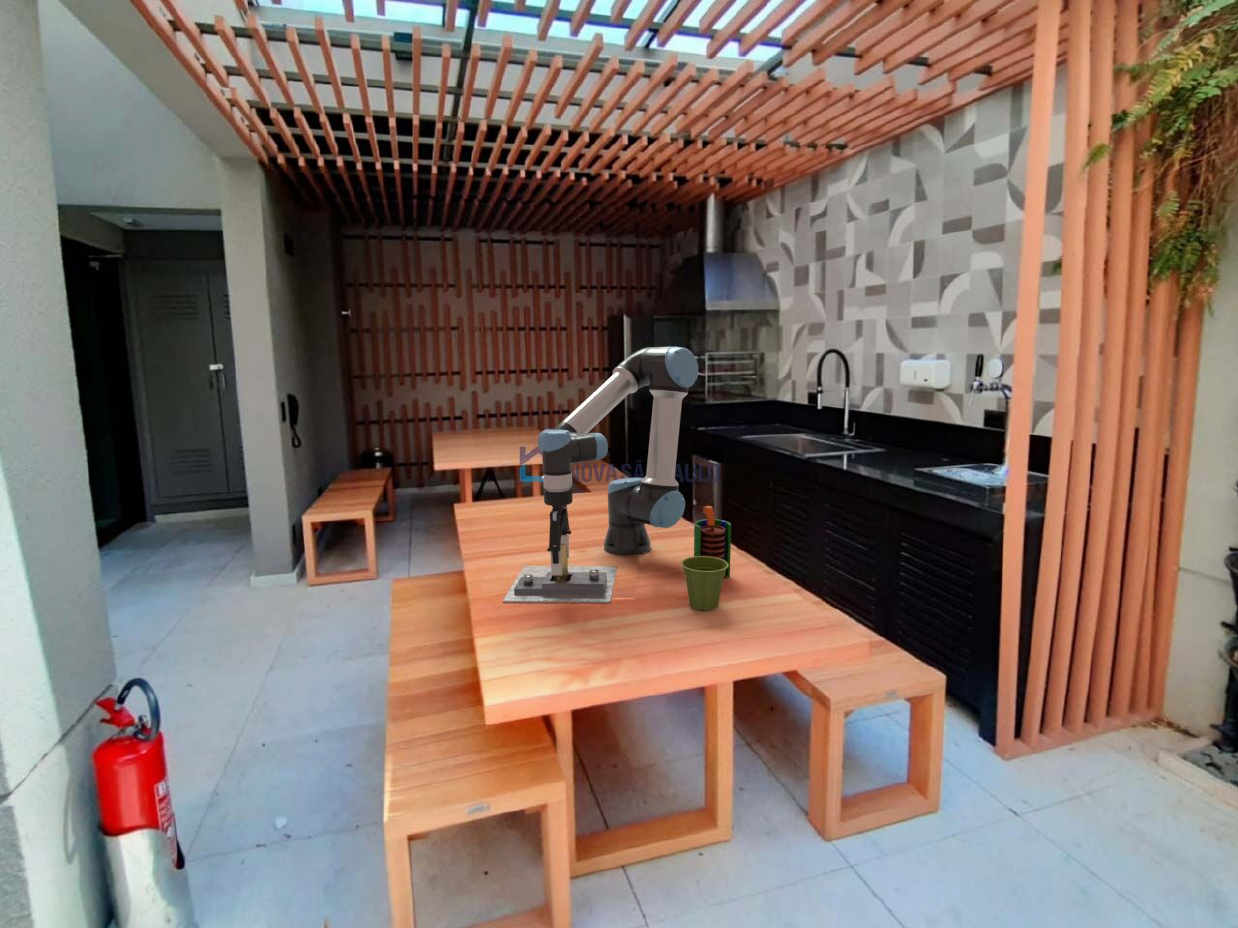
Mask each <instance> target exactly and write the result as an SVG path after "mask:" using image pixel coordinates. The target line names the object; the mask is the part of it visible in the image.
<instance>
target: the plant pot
mask: <svg viewBox="0 0 1238 928" xmlns="http://www.w3.org/2000/svg"><path fill="white" fill-rule="evenodd" d="M680 566H681V567H682V568H683V575H684V576H685V577H684V578H685V582H686V588H687V589H686V590H687V596H688V597H687V598H688V603H689V606H690V608H692V609H694V610H697V611H701V610H703V611H712V610H716V609H717V608H718V606H719V603H720V598H721V593H722V588H723V582H724V580H723V578H724V576H725V577H726V575H725V572H726V569H727V568H728V566H729V564H728V563H727V562H726V561H725V560H723V559H720V558H715V557H709V556H695V557H694V556H691V557H686V558H684V559H683V560H681V562H680Z"/></svg>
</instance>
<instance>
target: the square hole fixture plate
mask: <svg viewBox="0 0 1238 928" xmlns="http://www.w3.org/2000/svg"><path fill="white" fill-rule="evenodd" d="M617 569H618V566H617V565H614V566H613V565H611V566H610V565H609V566H608V565H568V581H554V578H553V575H551V565H524V566H523V567H522V569H521V571H520V573H519V574H518V576H517V577H516V578H515V580H514V582H513V583H512V585H511V587H510V588H509V590H508V592H507V593H506V595H505V596H504V598H503V600H502V603H518V604H519V603H522V604H523V603H525V604H526V603H531V604H532V603H535V604H537V603H538V604H543V603H544V604H545V603H546V604H547V603H548V604H553V603H554V604H562V603H561V602H576V603H575V604H611V602H612V594H613V589H614V586H615V585H614V584H615V580H616V576H617ZM550 602H551V603H550ZM557 602H558V603H557ZM577 602H578V603H577Z"/></svg>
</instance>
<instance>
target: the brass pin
mask: <svg viewBox="0 0 1238 928" xmlns="http://www.w3.org/2000/svg"><path fill="white" fill-rule="evenodd" d="M560 548H561V557H562V575H553V578H554V581H568V566H569V563H568V562H569V561H568V560H569V558H568V555H567V545H566V544H561V546H560Z"/></svg>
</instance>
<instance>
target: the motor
mask: <svg viewBox="0 0 1238 928" xmlns="http://www.w3.org/2000/svg"><path fill="white" fill-rule="evenodd" d="M702 507H703V508H702V509H703V510H702V513H703V514H704V515H705V516H706V519H705V518H704V519H700V520H696V521H695V522H694V524H693V525H694V526H693V527H694V529H693V531H694V532H693V557H695V556H709V557H715V558H720V559H723V560H725V561H726V562H727V563H728V564H729V566H728V568H727V569H726V572H725V576H724V578H723V581H724V580H725V579H726V578H727V579H730V578H731V552H732V551H731V548H732V547H731V546H732V544H731V543H732V524H731V522H729V521H726V520H722V519H718V518H717V519H716V518H715V512H714V511H715V510H714V508H713V506H711V505H705V506H702Z"/></svg>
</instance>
